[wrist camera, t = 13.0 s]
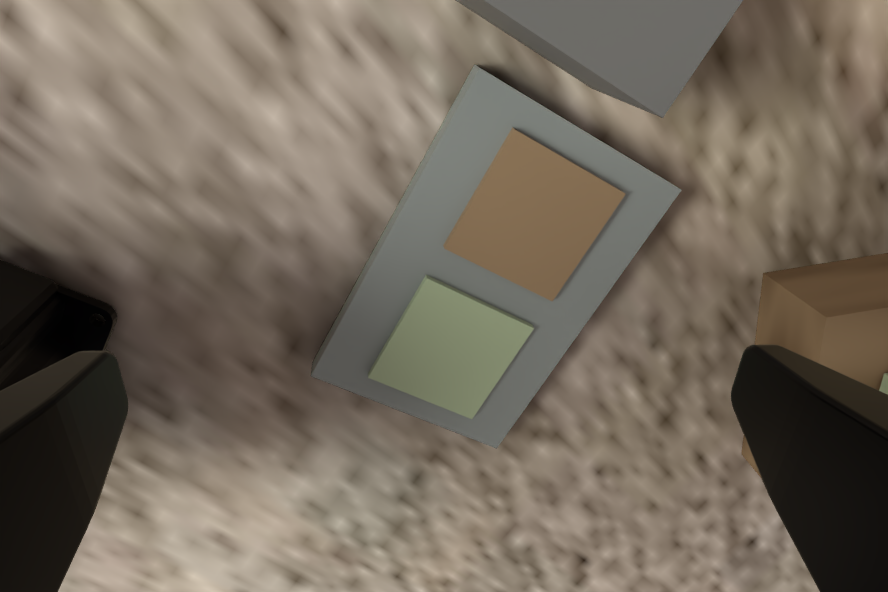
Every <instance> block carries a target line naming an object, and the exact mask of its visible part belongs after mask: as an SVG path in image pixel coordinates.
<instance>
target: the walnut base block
mask: <svg viewBox="0 0 888 592" xmlns="http://www.w3.org/2000/svg"><path fill="white" fill-rule="evenodd" d="M767 344H774V345H779V346H782V347H784V348H786V349H789V350H791V351H793V352H795V353H797V354H800V355H802V356H804V357H806V358H808V359H811V360H813V361H815V362H817V363H819V364H822V365H824V366H826V367H828V368H830V369H833V370H835V371H837V372H839V373H841V374H844V375H846V376H848V377H850V378H852V379H855V380H857V381H859V382H861V383H863V384H866V385H868V386H870V387H872V388H874V389H877V390H879V389H880V386H881V382H882V379H883V375H884V373H888V253H884V254H878V255H872V256H866V257H860V258H853V259H847V260H841V261H835V262H829V263H822V264H816V265H810V266H804V267H798V268H792V269H785V270H779V271H773V272H767V273H763V280H762V289H761V297H760V305H759V313H758V322H757V330H756V338H755V345H767ZM742 455H743V456H744V457H745V459H746V460H747V461H748V462H749V464H750V465H751V466H752V467H753V469H754V470H755V471H756V472H757V473H758V475H759V476H760V473H759V471H758V468H757V466H756V463H755V461H754V458H753V456H752V453H751V451H750V448H749V446H748V443H747V441H746V438H745V436H744V438H743V446H742ZM760 477H761V476H760Z"/></svg>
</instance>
